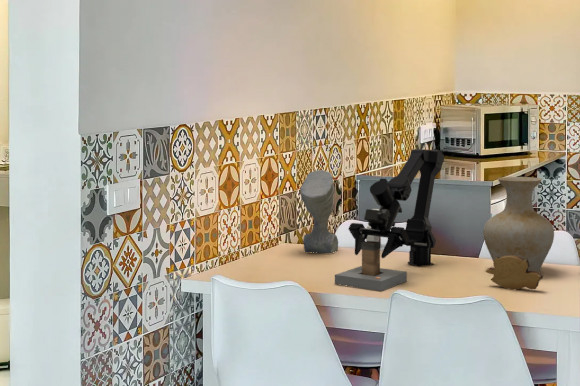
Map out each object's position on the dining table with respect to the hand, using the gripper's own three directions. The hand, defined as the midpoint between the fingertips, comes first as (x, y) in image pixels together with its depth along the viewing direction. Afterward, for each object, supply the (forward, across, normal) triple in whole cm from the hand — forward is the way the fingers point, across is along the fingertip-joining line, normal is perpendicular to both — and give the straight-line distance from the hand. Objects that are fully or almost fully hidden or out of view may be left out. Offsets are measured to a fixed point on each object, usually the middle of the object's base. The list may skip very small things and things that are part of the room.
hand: (368, 255), depth 254 cm
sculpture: (-18, -40, +30) cm, 53 cm away
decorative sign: (-28, -26, +41) cm, 56 cm away
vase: (-23, +31, +35) cm, 52 cm away
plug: (+5, 0, +7) cm, 9 cm away
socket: (+5, 0, +7) cm, 9 cm away
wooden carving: (-6, +39, +19) cm, 43 cm away
